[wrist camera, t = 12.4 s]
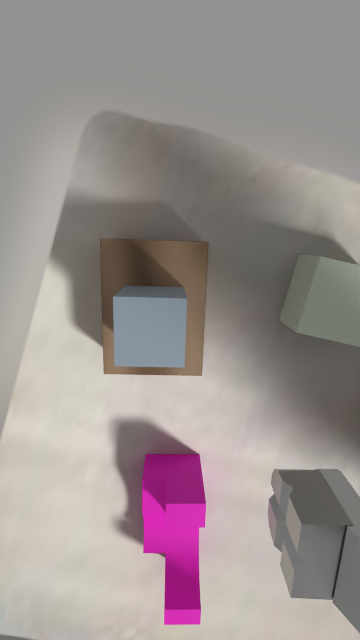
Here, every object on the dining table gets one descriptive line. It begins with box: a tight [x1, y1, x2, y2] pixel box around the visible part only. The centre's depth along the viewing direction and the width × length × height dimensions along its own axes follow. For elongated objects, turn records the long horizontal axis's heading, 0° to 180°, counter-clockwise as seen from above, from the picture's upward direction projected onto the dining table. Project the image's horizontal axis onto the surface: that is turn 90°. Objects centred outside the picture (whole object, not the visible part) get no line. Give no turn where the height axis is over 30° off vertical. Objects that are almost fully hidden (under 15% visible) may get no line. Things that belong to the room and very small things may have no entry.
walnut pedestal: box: [100, 239, 208, 376], centre depth 30 cm, size 9×12×5 cm
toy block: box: [142, 454, 206, 625], centre depth 35 cm, size 15×6×8 cm, turn 179°
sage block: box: [279, 254, 360, 347], centre depth 31 cm, size 7×7×5 cm
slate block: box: [113, 286, 187, 368], centre depth 25 cm, size 5×5×6 cm
